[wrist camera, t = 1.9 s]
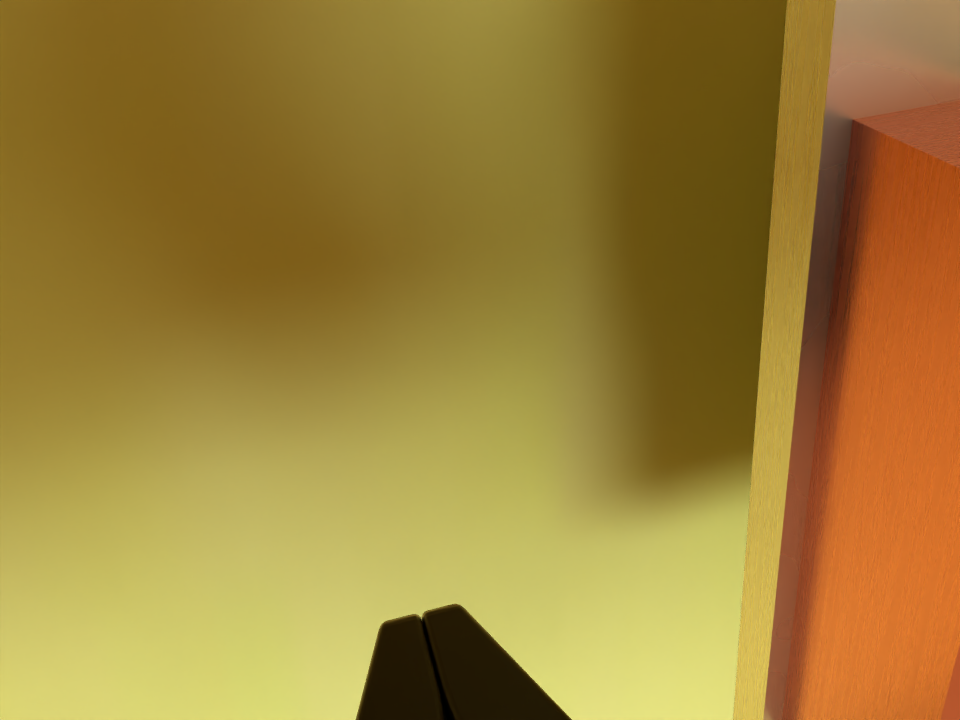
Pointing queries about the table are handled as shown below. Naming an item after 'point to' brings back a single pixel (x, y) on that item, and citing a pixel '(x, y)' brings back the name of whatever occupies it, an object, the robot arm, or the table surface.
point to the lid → (859, 376)
